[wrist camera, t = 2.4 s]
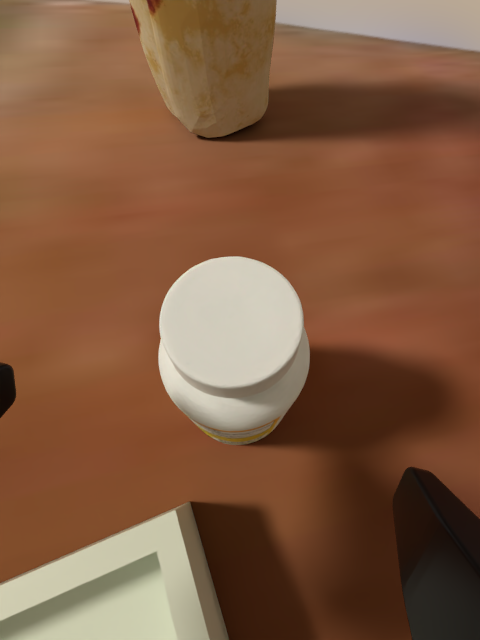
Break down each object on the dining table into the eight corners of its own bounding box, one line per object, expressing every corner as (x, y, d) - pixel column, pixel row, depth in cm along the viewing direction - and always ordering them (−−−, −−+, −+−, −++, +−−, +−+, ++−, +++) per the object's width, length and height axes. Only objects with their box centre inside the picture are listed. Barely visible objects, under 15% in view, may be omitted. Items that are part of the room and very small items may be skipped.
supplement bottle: (237, 469, 16) (225, 470, 7) (167, 391, 18) (91, 317, 9) (309, 391, 18) (370, 316, 9) (238, 326, 19) (232, 208, 10)
